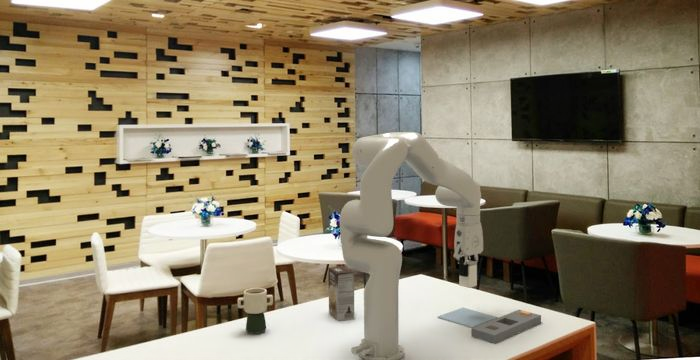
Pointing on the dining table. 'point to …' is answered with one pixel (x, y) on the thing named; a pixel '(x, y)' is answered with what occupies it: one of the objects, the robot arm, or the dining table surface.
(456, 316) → the slate mat
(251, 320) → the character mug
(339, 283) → the coffee box
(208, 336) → the dining table surface
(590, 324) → the dining table surface
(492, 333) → the power strip
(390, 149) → the robot arm
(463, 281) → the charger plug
